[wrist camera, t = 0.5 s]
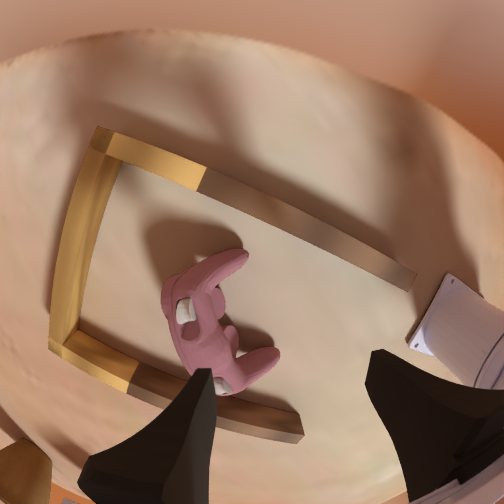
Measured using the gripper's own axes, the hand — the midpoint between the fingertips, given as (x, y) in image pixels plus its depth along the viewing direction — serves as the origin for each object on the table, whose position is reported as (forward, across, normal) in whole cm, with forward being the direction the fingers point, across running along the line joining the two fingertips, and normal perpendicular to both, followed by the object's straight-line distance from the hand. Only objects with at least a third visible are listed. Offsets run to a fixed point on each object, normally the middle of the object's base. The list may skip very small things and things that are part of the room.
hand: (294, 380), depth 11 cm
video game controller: (+10, +3, +1) cm, 10 cm away
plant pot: (+9, +44, +32) cm, 55 cm away
